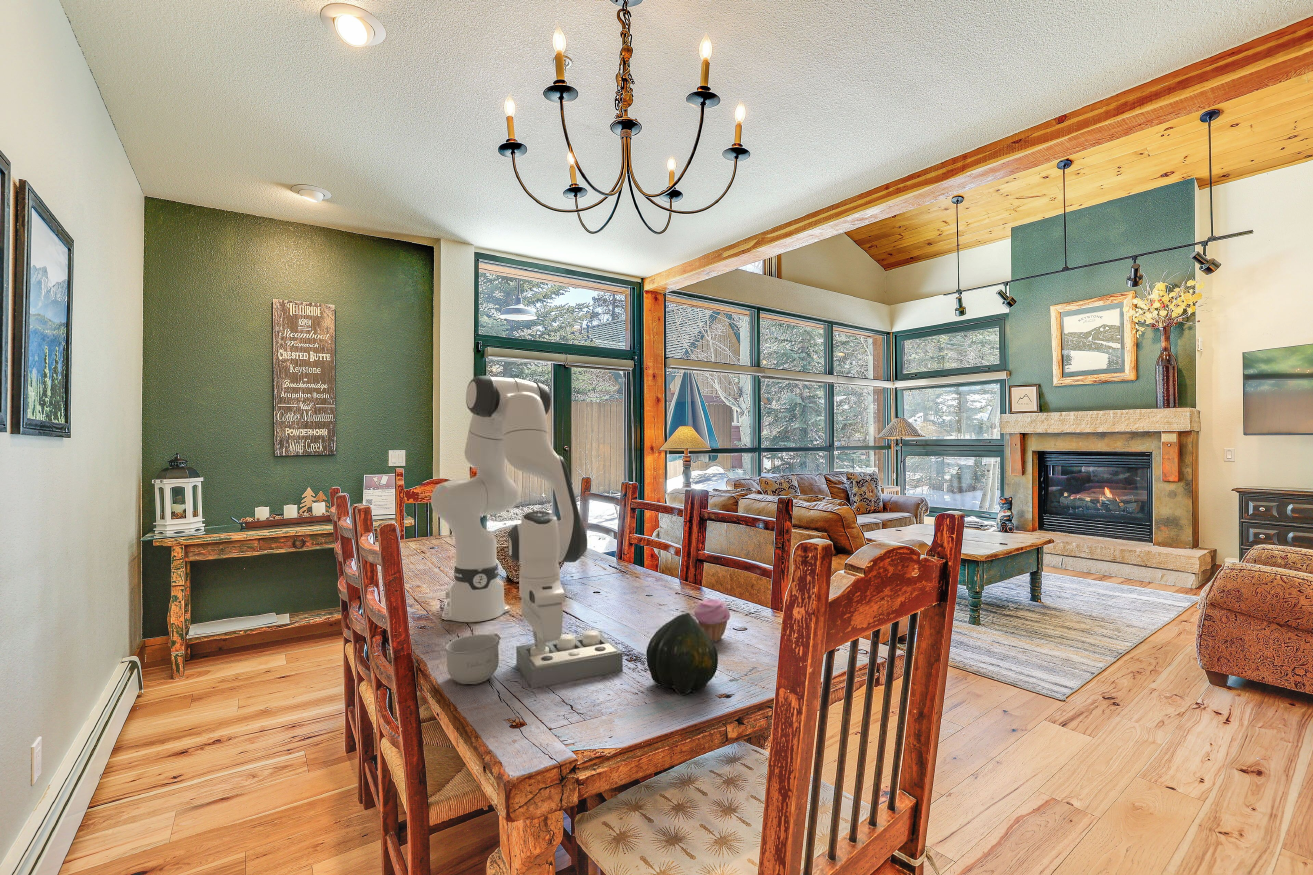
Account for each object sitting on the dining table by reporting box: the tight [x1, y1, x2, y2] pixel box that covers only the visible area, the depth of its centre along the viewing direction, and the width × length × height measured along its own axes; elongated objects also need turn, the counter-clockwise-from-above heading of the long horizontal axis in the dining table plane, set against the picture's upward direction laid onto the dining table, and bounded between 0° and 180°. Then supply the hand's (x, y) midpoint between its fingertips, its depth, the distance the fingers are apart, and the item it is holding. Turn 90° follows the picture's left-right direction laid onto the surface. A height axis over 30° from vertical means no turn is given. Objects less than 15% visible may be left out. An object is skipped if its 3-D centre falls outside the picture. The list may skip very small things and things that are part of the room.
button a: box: [530, 647, 549, 657], centre depth 129 cm, size 4×4×3 cm
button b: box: [557, 633, 576, 652], centre depth 132 cm, size 4×4×3 cm
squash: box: [645, 612, 719, 696], centre depth 121 cm, size 14×15×15 cm
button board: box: [515, 632, 624, 690], centre depth 130 cm, size 14×20×4 cm
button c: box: [581, 629, 601, 647], centre depth 135 cm, size 4×4×3 cm
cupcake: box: [693, 598, 731, 643], centre depth 148 cm, size 9×9×10 cm
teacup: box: [444, 631, 501, 685], centre depth 126 cm, size 14×11×8 cm
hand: (540, 649), depth 129 cm, fingers closed, pressing on button a
